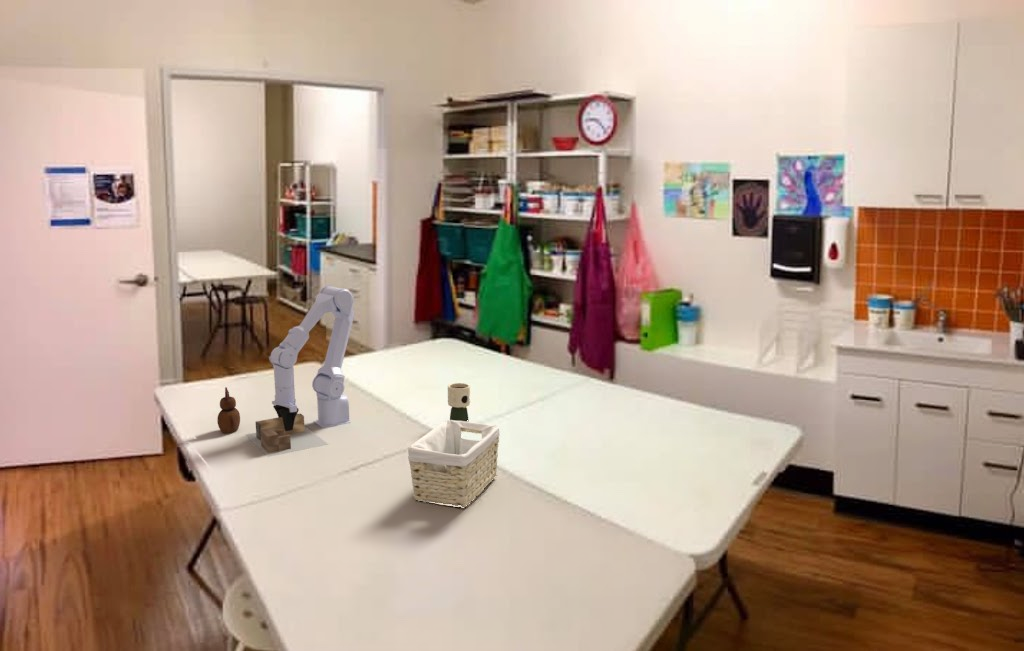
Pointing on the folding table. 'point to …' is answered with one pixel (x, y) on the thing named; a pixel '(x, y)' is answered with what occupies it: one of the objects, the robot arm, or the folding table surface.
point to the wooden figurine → (228, 414)
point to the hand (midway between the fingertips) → (287, 428)
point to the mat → (293, 442)
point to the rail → (280, 425)
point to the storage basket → (453, 462)
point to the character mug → (459, 401)
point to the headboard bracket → (274, 440)
